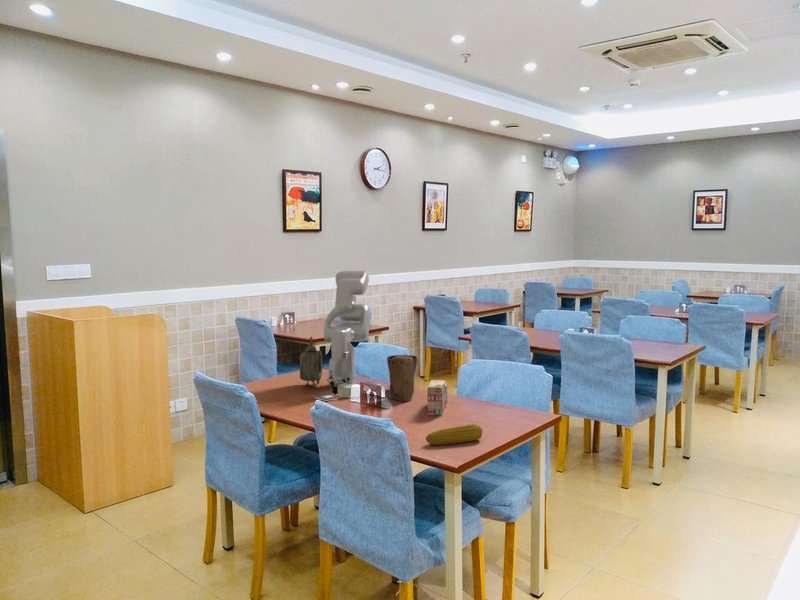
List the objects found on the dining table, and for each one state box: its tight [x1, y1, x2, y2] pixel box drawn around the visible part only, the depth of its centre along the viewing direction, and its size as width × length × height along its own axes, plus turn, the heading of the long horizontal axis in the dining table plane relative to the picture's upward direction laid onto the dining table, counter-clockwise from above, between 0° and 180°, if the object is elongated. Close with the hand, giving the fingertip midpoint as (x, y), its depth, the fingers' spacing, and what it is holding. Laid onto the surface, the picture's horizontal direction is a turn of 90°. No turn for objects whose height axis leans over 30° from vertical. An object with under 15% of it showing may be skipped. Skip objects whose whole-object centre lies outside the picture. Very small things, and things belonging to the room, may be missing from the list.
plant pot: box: [386, 354, 418, 376], centre depth 285 cm, size 15×15×16 cm
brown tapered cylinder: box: [389, 354, 415, 402], centre depth 267 cm, size 11×8×20 cm
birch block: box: [336, 382, 347, 394], centre depth 278 cm, size 5×5×5 cm
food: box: [425, 424, 483, 446], centre depth 207 cm, size 21×6×6 cm, turn 110°
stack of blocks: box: [426, 379, 448, 416], centre depth 251 cm, size 21×6×12 cm, turn 169°
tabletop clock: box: [299, 336, 323, 390], centre depth 292 cm, size 14×9×25 cm, turn 0°
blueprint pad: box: [314, 392, 341, 402], centre depth 269 cm, size 8×8×2 cm
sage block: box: [342, 385, 352, 397], centre depth 272 cm, size 5×5×5 cm
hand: (339, 392), depth 278 cm, fingers closed on birch block, 5 cm apart
